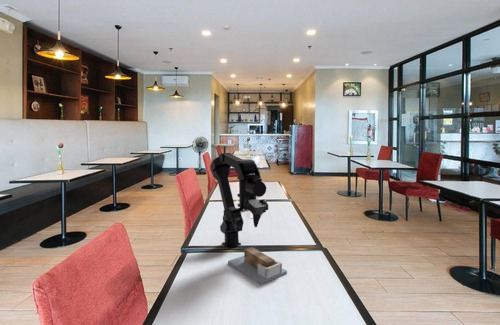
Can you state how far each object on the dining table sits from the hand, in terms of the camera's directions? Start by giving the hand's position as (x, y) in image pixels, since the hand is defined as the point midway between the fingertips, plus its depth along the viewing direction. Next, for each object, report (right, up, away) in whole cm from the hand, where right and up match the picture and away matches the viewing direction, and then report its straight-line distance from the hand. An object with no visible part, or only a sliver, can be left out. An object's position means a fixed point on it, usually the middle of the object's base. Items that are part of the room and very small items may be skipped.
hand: (246, 229), depth 126 cm
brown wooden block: (+5, -12, -11) cm, 16 cm away
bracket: (+4, -12, -10) cm, 16 cm away
